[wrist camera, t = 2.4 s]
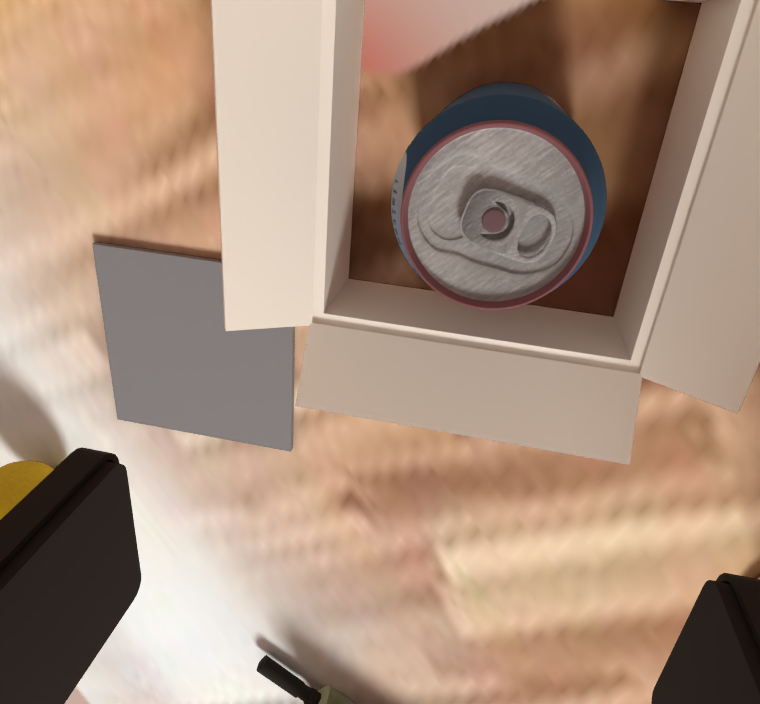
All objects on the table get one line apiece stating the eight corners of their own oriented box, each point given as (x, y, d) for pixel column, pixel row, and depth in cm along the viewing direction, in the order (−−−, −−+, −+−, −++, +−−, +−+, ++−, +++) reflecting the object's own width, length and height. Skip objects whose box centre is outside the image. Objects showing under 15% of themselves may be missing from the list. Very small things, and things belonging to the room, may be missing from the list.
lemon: (95, 460, 42) (13, 540, 35) (83, 512, 45) (4, 596, 38) (24, 426, 42) (-73, 500, 35) (16, 480, 45) (-75, 559, 38)
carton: (858, -120, 22) (1000, -191, 16) (673, 399, 32) (714, 484, 26) (275, -148, 25) (195, -216, 19) (275, 335, 35) (223, 397, 29)
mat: (295, 270, 33) (293, 273, 33) (292, 447, 39) (290, 451, 38) (96, 242, 35) (92, 244, 34) (120, 415, 40) (117, 419, 40)
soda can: (407, 202, 30) (352, 281, 20) (459, 57, 27) (426, 60, 16) (535, 252, 30) (549, 359, 20) (603, 113, 27) (664, 150, 16)
